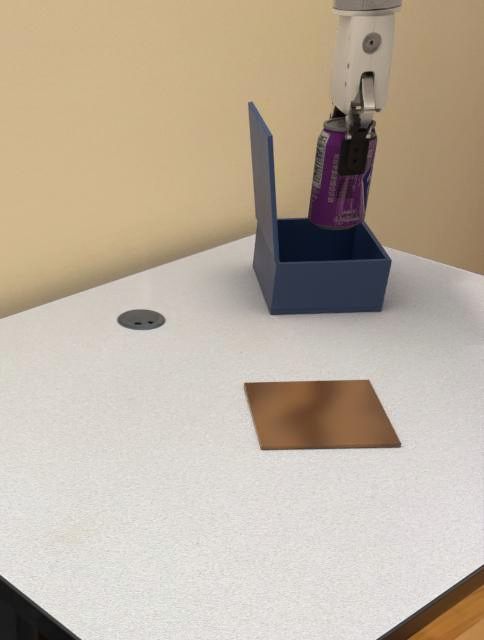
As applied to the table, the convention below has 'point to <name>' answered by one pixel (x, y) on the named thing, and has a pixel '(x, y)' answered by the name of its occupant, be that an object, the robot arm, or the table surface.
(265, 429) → the cork mat
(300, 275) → the box
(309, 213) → the beverage can
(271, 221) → the lunchbox lid
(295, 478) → the table surface
